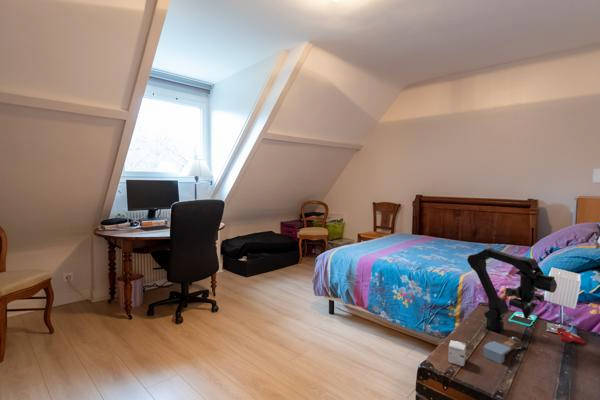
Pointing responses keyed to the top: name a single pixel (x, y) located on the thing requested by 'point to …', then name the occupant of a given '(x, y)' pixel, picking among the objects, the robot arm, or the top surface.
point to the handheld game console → (522, 319)
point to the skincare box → (457, 353)
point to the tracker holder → (569, 336)
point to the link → (512, 343)
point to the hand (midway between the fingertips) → (526, 318)
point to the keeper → (496, 351)
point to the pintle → (516, 339)
